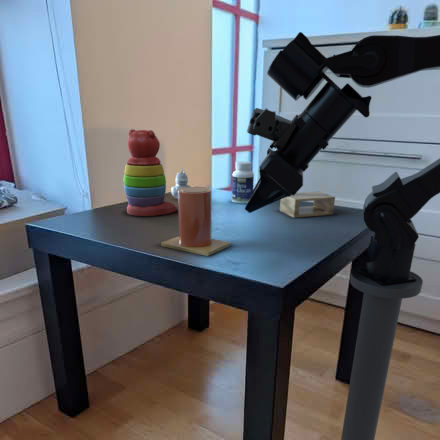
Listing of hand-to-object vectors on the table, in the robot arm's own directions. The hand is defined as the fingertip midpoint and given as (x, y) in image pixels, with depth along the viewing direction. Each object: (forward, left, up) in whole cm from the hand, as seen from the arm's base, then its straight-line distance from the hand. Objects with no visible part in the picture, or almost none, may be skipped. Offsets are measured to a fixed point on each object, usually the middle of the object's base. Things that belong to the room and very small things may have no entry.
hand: (250, 202), depth 68 cm
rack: (+21, -23, -8) cm, 32 cm away
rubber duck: (+45, +1, -8) cm, 46 cm away
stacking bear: (+33, +12, -8) cm, 36 cm away
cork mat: (+4, +8, -8) cm, 12 cm away
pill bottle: (+37, -13, -8) cm, 40 cm away
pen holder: (+4, +8, -7) cm, 12 cm away
